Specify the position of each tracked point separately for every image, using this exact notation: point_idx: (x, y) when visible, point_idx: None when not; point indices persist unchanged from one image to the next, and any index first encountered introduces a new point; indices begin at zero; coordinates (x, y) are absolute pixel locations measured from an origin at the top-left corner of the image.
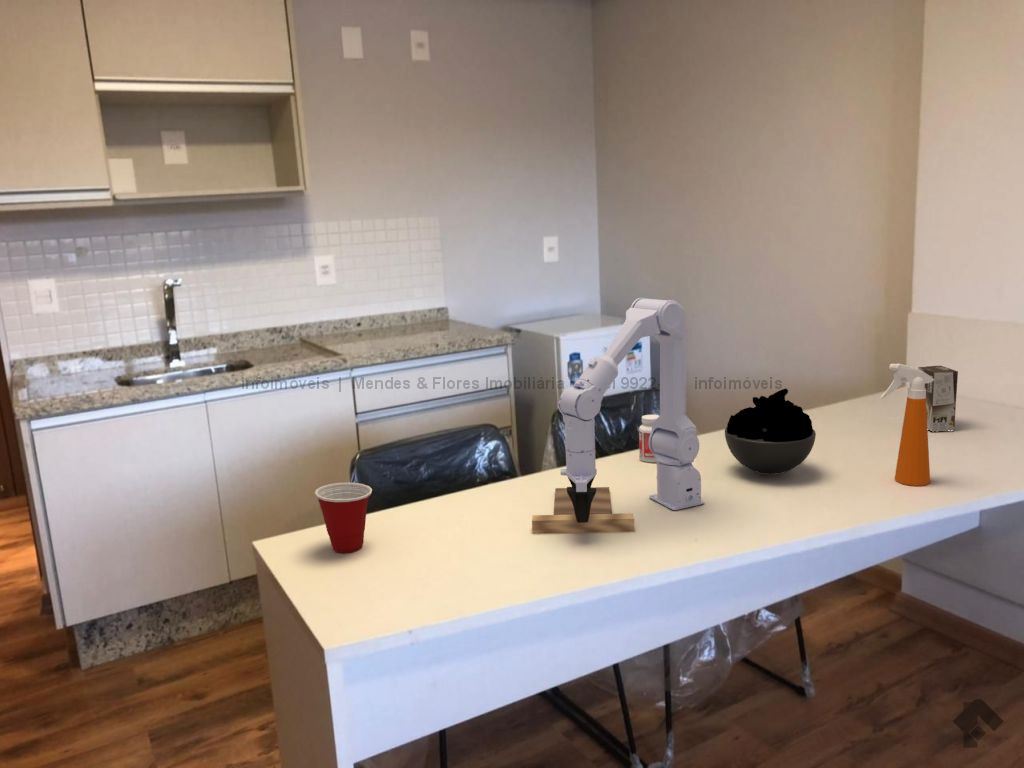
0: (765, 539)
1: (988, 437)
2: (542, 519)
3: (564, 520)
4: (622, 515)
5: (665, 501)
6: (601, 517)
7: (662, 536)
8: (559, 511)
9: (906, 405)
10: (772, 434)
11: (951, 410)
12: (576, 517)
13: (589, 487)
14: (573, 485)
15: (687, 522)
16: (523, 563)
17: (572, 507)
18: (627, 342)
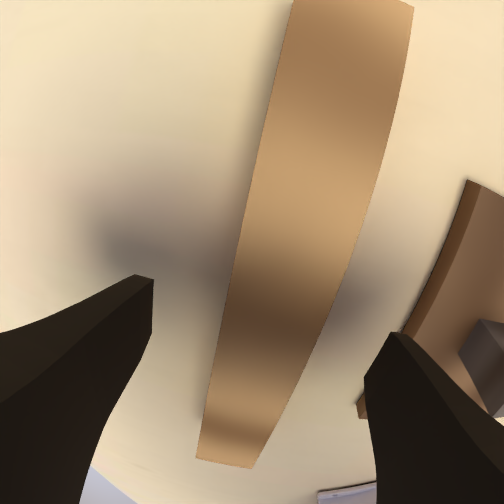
0: (145, 501)
1: None
2: (310, 40)
3: (248, 202)
4: (237, 448)
5: (364, 493)
6: (233, 397)
7: (160, 445)
8: (496, 228)
9: None
10: None
11: None
12: (109, 287)
13: (379, 500)
14: (464, 456)
15: (241, 490)
16: (7, 6)
17: (500, 298)
18: None
